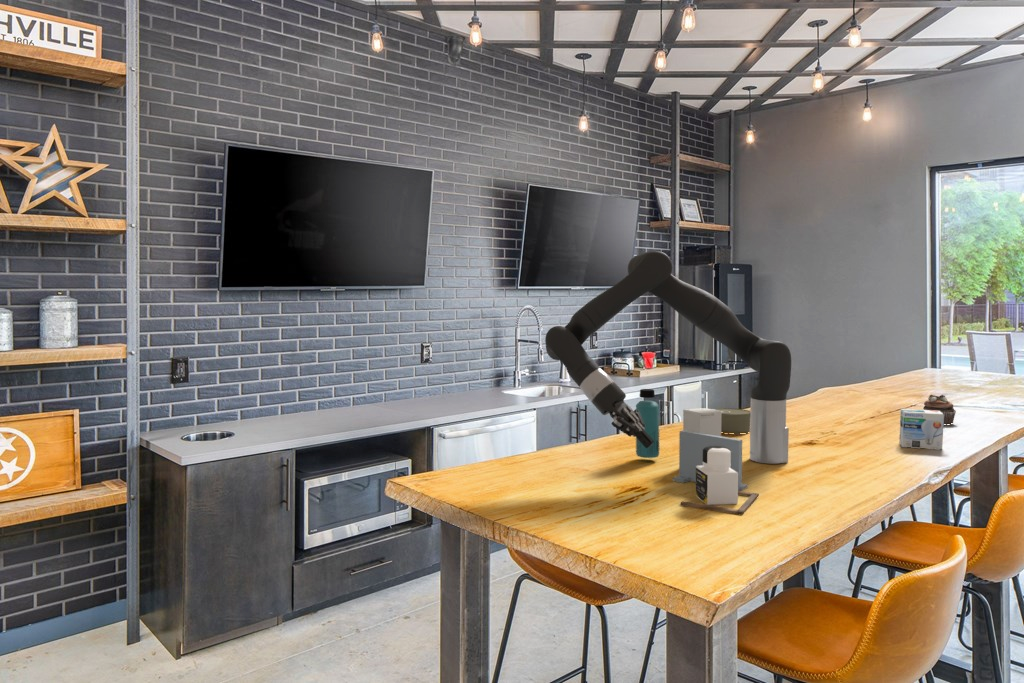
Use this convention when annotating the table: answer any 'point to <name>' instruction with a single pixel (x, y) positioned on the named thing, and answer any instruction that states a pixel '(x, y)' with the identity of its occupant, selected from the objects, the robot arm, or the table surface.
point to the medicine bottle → (716, 477)
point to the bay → (740, 511)
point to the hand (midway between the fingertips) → (650, 445)
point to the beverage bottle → (649, 424)
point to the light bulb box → (921, 428)
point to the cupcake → (941, 407)
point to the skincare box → (702, 421)
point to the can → (735, 421)
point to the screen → (693, 454)
